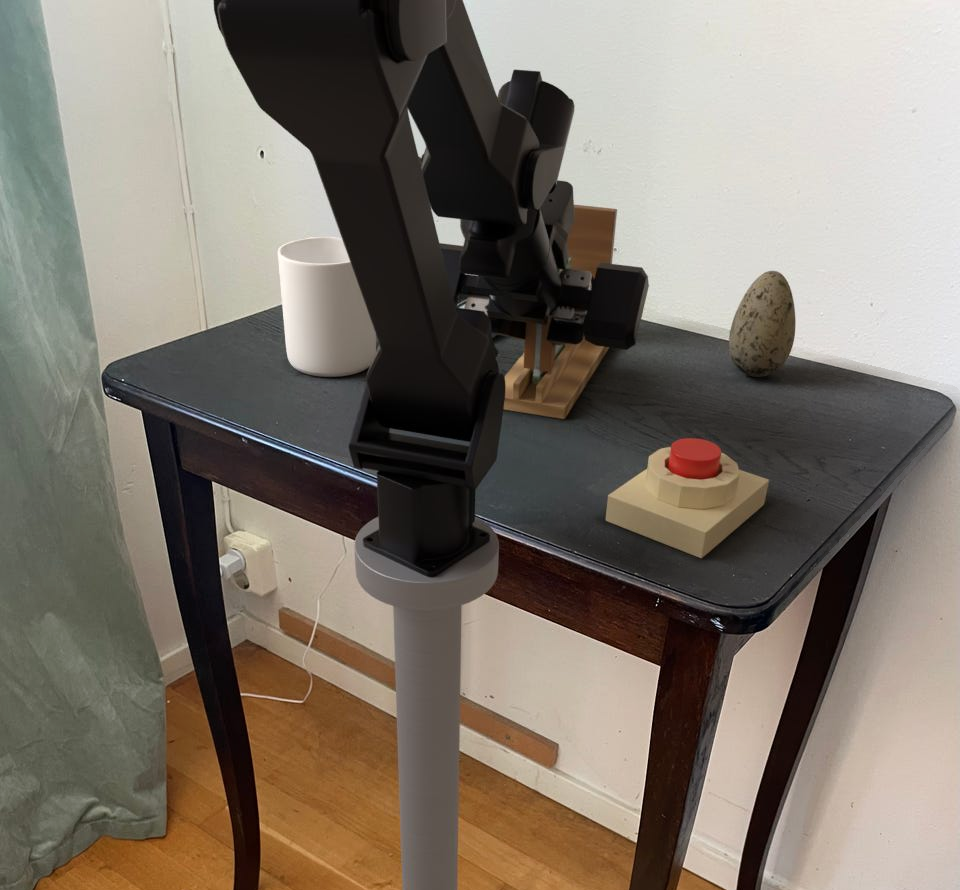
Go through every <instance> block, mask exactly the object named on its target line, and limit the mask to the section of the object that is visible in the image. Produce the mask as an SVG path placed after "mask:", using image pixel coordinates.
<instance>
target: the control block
mask: <svg viewBox="0 0 960 890" xmlns="http://www.w3.org/2000/svg"><path fill="white" fill-rule="evenodd" d="M670 450H671V446H668V447H667V446H666V447H662V448H659V449H658V450H656V451H654V452H653V453H652V454H649V456H648V459H647V468H645V469H644V470H643V471H641V472H640V473H638V474H637V475H635V476H634V477H632V478H631V479H629V480H628V481H626V482H625V483H624V484H623V485H620V486H619V487H617V488H616V489H615V490H614V491H612V492H611V493H609V494H608V495H607V503H606V511H605V512H606V513H605V522H608V523H610V524H612V525H615V526H618V527H619V528H622V529H626V530H628V531H630V532H633V533H636V534H637V535H641V536H643V537H646V538H648V539H650V540H653V541H656V542H658V543H660V544H664V545H666V546H668V547H670V548H674V549H676V550H679V551H681V552H684V553H686V554H688V555H691V556H694V557H697V558H699V559H703V558H704V557H705V556H707V555H708V554H709V553H710V552H711V551H712V550H714V549H715V547H717V546H718V545H719V544H720V543H722V542H723V541H724V540H725V539H726V538H727V537H728V536H730V535H731V534H733V532H734V531H735V530H736V529H738V528H739V527H740V526H741V525H742V524H744V523H745V522H746V521H747V520H748V519H749V518H750V517H752V515H754V514H755V513H757V512H758V511H759V510H760V509H761V508H762V507H763V506H764V505H765V503H766V497H767V492H768V487H769V483H770V479H769V478H765V477H762V476H759V475H757V474H753V473H750V472H747V471H744V470H741V469H740V468H739V464H738V463H737V462H736V461H735V460H734V459H733V458H731V457H729V456H728V455H727V454H726V453H723V452H721V458H720V463H719V469H718V474H717V476H716V477H715V478H709V479H704V480H699V479H687V478H684V477H681V476H678V475H676V474H673V473H672V472H670V471H669V470H668V464H669V457H670Z"/></svg>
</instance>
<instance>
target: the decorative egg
mask: <svg viewBox="0 0 960 890" xmlns="http://www.w3.org/2000/svg"><path fill="white" fill-rule="evenodd" d="M796 321H797V320H796V307H795V302H794V297H793V292H792V289H791V286H790V284H789V281H788V280H787V279H786V277H785V276H784V275H783V274H782V273H781V272H780V271H777V270H768V271H765V272H763V273H762V274H760V275H759V276H758V277H757V278H756V279H755V280H754V281H753V282H752V283H751V284H750V286H749V287H748V288H747V290H746V292H745V293H744V294H743V297H742V299H741V301H740V302H739V305H738V307H737V309H736V311H735V314H734V316H733V319H732V323H731V326H730V330H729V337H728V348H729V350H728V351H729V355H730V358H731V360H732V362H733V363H734V365H735V367H736V368H737V370H739V371H740V372H741V373H743V374H745V375H747V376H749V377H755V378H762V377H763V378H764V377H767V376H770V375H771V374H773V373H775V372H777V371H778V370H779V369H780V368H782V366H783V365H784V364H785V362H786V361H787V360H788V358H789V356H790V355H791V352H792V349H793V346H794V342H795V336H796V323H797V322H796Z"/></svg>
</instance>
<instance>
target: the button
mask: <svg viewBox="0 0 960 890" xmlns="http://www.w3.org/2000/svg"><path fill="white" fill-rule="evenodd" d="M670 447H671V450H670V457H669V464H668V470H669V471H670V472H672V473H673V474H676V475H678V476H681V477H684V478H687V479H699V480H704V479H709V478H715V477H716V476H717V474H718V469H719V463H720V458H721V453H722V450H721V448H720V446H718V445H717V444H715V443H714V442H713V441H709V440H706V439H702V438H695V437H687V438H681V439H678V440H677V439H676V440H675V441H673V442H672V443H671V445H670Z"/></svg>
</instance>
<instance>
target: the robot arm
mask: <svg viewBox="0 0 960 890" xmlns="http://www.w3.org/2000/svg"><path fill="white" fill-rule="evenodd" d="M212 1H213V11H214V16H215V20H216V24H217V28H218V30H219V32H220V34H221V36H222V37H223V41H224V45H225V47H226V49H227V51H228V54H229V55H230V57H231V59H232V61H233V63H234V64H235V67H236V68H237V71H238V72H239V74H240V76H241V77H242V79H243V81H244V82H245V84H246V86H247V88H248V91H249V92H250V93H251V95H252V97H253V99H254V101H255V103H256V104H257V106H258V107H259V109H260V110H262V111H263V112H264V113H265V114H266V115H268V116H269V117H270V118H271V119H272V120H274V121H275V122H276V123H277V124H278V125H279V126H280V127H282V128H283V129H284V130H285V131H286V132H287V133H289V134H290V135H291V136H292V137H293V138H294V139H296V140H297V141H298V142H299V143H300V144H301V145H303V146H304V147H305V148H306V149H307V150H308V151H309V152H310V154H311V156H312V159H313V161H314V164H315V167H316V170H317V173H318V175H319V178H320V181H321V184H322V187H323V190H324V192H325V196H326V198H327V200H328V203H329V206H330V210H331V212H332V215H333V217H334V220H335V223H336V227H337V229H338V231H339V235H340V238H342V240H343V243H344V246H345V249H346V251H347V254H348V257H349V260H350V263H351V265H352V268H353V271H354V274H355V277H356V279H357V282H358V285H359V288H360V291H361V294H362V296H363V299H364V302H365V305H366V308H367V310H368V313H369V316H370V319H371V322H372V324H373V327H374V330H375V333H376V340H377V341H378V346H377V347H376V353H375V355H374V358H373V360H372V363H371V365H370V366H369V367H368V370H367V373H366V375H365V378H364V379H365V384H364V388H363V393H362V396H361V400H360V403H359V407H358V411H357V414H356V418H355V421H354V425H353V429H352V432H351V436H350V439H349V442H348V452H349V454H350V459H351V463H352V465H353V468H354V469H358V470H363V469H365V470H371V471H376V489H377V491H376V493H377V515H378V516H377V517H378V519H379V529H378V530H376V531H375V532H373V533H371V534H369V535H368V536H366V537H364V538H363V546H364V547H365V548H367V549H369V550H372V551H374V552H376V553H378V554H380V555H382V556H384V557H386V558H388V559H390V560H393V561H395V562H397V563H399V564H401V565H403V566H405V567H407V568H409V569H411V570H414V571H416V572H418V573H420V574H422V575H424V576H426V577H436V576H438V575H439V574H441V573H442V572H444V571H445V570H447V569H448V568H450V567H451V566H453V565H454V564H456V563H458V562H459V561H461V560H462V559H464V558H465V557H467V556H468V555H470V554H471V553H473V552H474V551H476V550H477V549H479V548H480V547H482V546H484V545H485V544H487V543H488V542H489V541H490V534H489V533H488V532H486V531H484V530H481V529H479V528H477V527H474V526H473V523H474V521H475V517H476V490H477V489H478V487H479V486H480V485H481V483H482V482H483V480H484V479H485V477H486V476H487V474H488V472H489V471H490V470H491V469H492V467H493V466H494V464H495V463H496V462H497V458H498V452H499V444H500V437H501V428H502V424H503V423H502V422H503V415H504V409H503V408H504V401H505V389H506V386H505V378H504V377H505V374H503V373H502V372H500V369H499V364H498V360H497V357H498V354H499V350H498V349H497V347H496V345H495V341H494V338H493V336H492V334H496V335H497V336H502V337H507V338H512V339H516V340H521V341H524V342H525V328H526V322H528V323H536V324H543V325H547V321H548V317H550V318H551V322H550V326H549V330H548V334H547V338H546V340H547V341H549V342H551V343H552V344H555V345H562V344H579V343H581V342H582V340H583V337H585V340H586V341H588V342H590V343H592V344H594V345H596V346H603V347H609V349H618V350H626V351H627V350H629V349H631V348H632V347H634V346H635V345H636V344H637V340H638V334H639V330H640V328H641V327H640V325H641V321H642V318H643V313H644V309H645V304H646V300H647V295H648V291H649V287H650V283H649V276H648V274H647V273H646V271H645V270H644V268H643V267H642V266H641V267H640V266H633V265H625V264H617V263H612V264H609V263H600V264H599V266H598V267H597V271H596V275H595V279H594V278H593V277H592V274H591V272H590V271H585V270H577V269H566V268H567V264H568V260H569V253H568V249H567V245H566V244H567V240H568V235H569V232H570V230H571V227H572V225H573V224H574V220H575V218H574V205H575V200H574V186H573V185H572V183H570V182H568V181H566V180H559V175H560V171H561V168H562V163H563V159H564V156H565V151H566V147H567V143H568V139H569V135H570V131H571V126H572V122H573V119H574V115H575V102H574V100H573V99H572V98H570V97H569V96H568V95H567V94H566V93H565V92H564V91H563V90H562V89H561V88H560V87H557V86H556V85H554V84H552V83H549V82H547V81H544V80H543V78H542V74H541V71H540V70H527V69H513V70H512V74H511V77H510V78H511V79H510V80H509V81H507V82H505V83H504V84H502V85H501V86H500V88H499V90H498V93H497V92H496V90H495V86H494V84H493V81H492V79H491V75H490V73H489V70H488V67H487V64H486V62H485V59H484V55H483V53H482V50H481V47H480V44H479V42H478V39H477V37H476V34H475V31H474V28H473V25H472V21H471V19H470V17H469V14H468V10H467V8H466V5H465V3H464V0H212ZM409 114H410V115H409ZM410 116H411V118H412V120H413V123H414V124H415V126H416V128H417V130H418V132H419V134H420V135H421V138H422V140H423V142H424V145H425V149H424V151H423V152H424V153H423V154H422V155H421V162H420V161H419V157H420V156H419V153H418V148H417V145H416V141H415V137H414V132H413V129H412V123H411V119H410ZM418 156H419V157H418ZM433 213H434V215H435V216H437V217H439V218H444V219H445V218H446V219H455V220H459V221H460V222H459V226H460V231H461V235H462V236H463V239H464V242H463V245H458V244H451V243H442V242H440V239H439V236H438V235H439V234H438V231H437V227H436V223H435V219H434V215H433ZM560 269H562V270H563V271H561V273H560V274H559V271H560ZM460 295H465V296H466V295H467V298H466V299H467V301H466V304H465V308H456V307H457V304H459V298H460ZM390 430H396V431H397V430H398V431H403V432H410V433H415V434H421V435H426V436H432V437H438V438H443V439H450V440H456V441H461V442H468V443H469V445H464V444H457V443H452V442H447V441H440V440H434V439H429V438H422V437H417V436H411V435H406V434H405V435H404V434H399V433H394V432H390Z"/></svg>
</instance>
